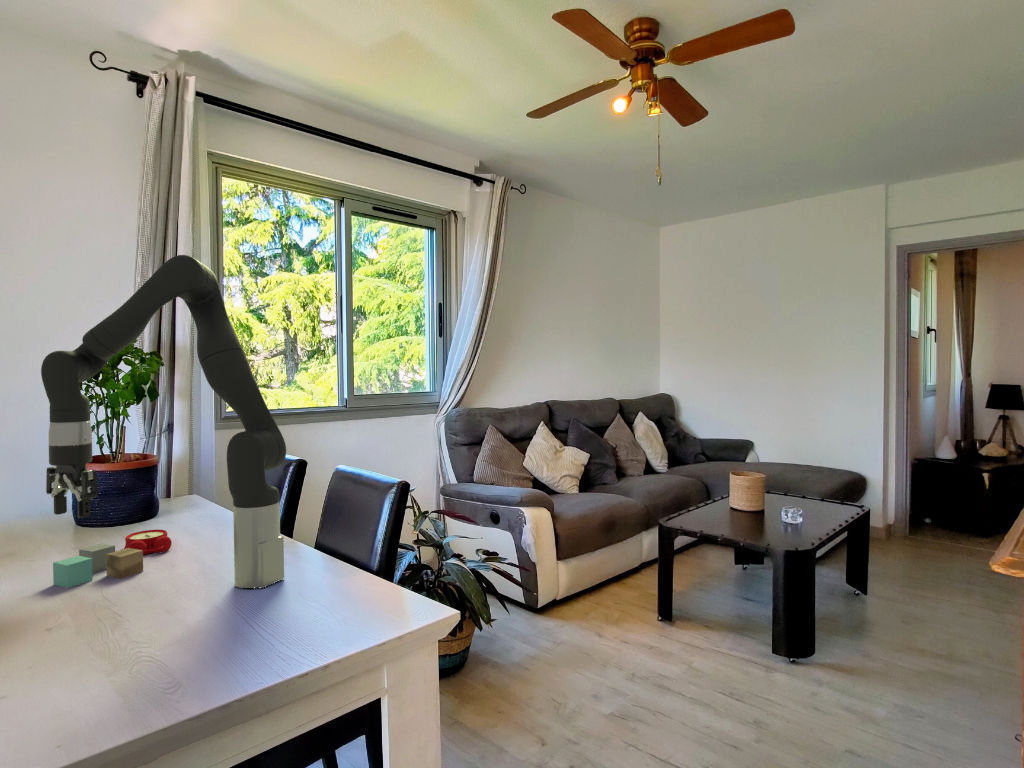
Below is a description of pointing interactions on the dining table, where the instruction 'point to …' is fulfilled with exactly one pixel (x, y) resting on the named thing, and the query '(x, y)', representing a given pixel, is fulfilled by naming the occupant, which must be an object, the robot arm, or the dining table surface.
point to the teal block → (72, 571)
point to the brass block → (124, 563)
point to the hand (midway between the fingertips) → (72, 515)
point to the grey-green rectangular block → (97, 555)
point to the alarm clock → (149, 541)
